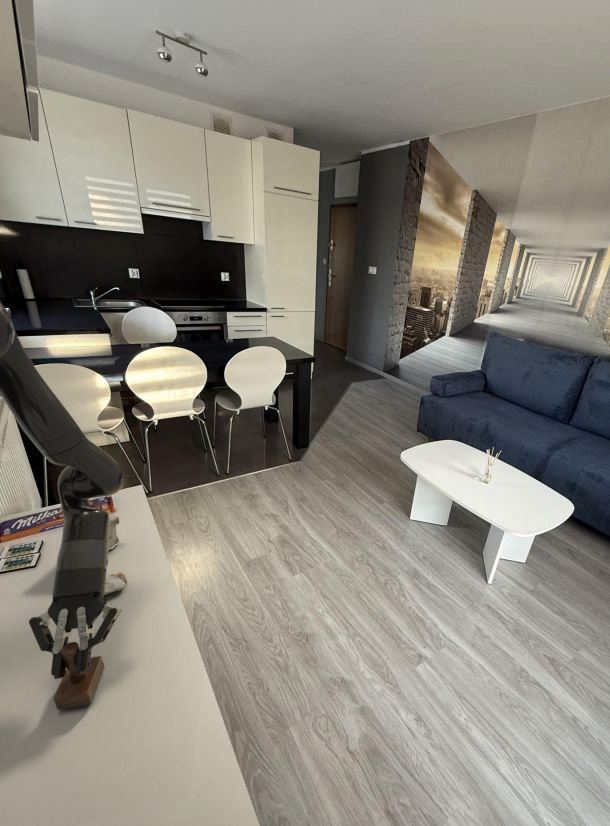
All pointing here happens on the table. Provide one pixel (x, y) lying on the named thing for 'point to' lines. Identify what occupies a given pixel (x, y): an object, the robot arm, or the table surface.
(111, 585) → the stone
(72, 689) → the stamp
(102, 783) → the table surface
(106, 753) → the table surface
